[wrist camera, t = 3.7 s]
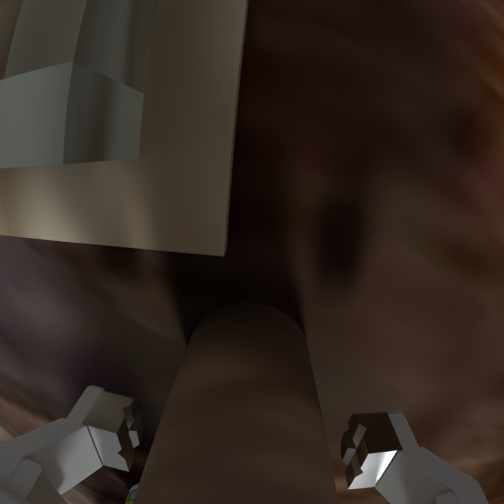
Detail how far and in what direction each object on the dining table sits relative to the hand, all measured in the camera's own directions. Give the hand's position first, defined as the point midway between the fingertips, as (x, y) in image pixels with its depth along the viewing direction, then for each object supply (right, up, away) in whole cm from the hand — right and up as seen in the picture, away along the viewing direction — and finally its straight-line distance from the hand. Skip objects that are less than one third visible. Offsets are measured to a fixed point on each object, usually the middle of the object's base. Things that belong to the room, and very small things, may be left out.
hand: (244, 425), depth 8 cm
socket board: (-8, +13, 0) cm, 15 cm away
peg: (0, +1, +3) cm, 4 cm away
